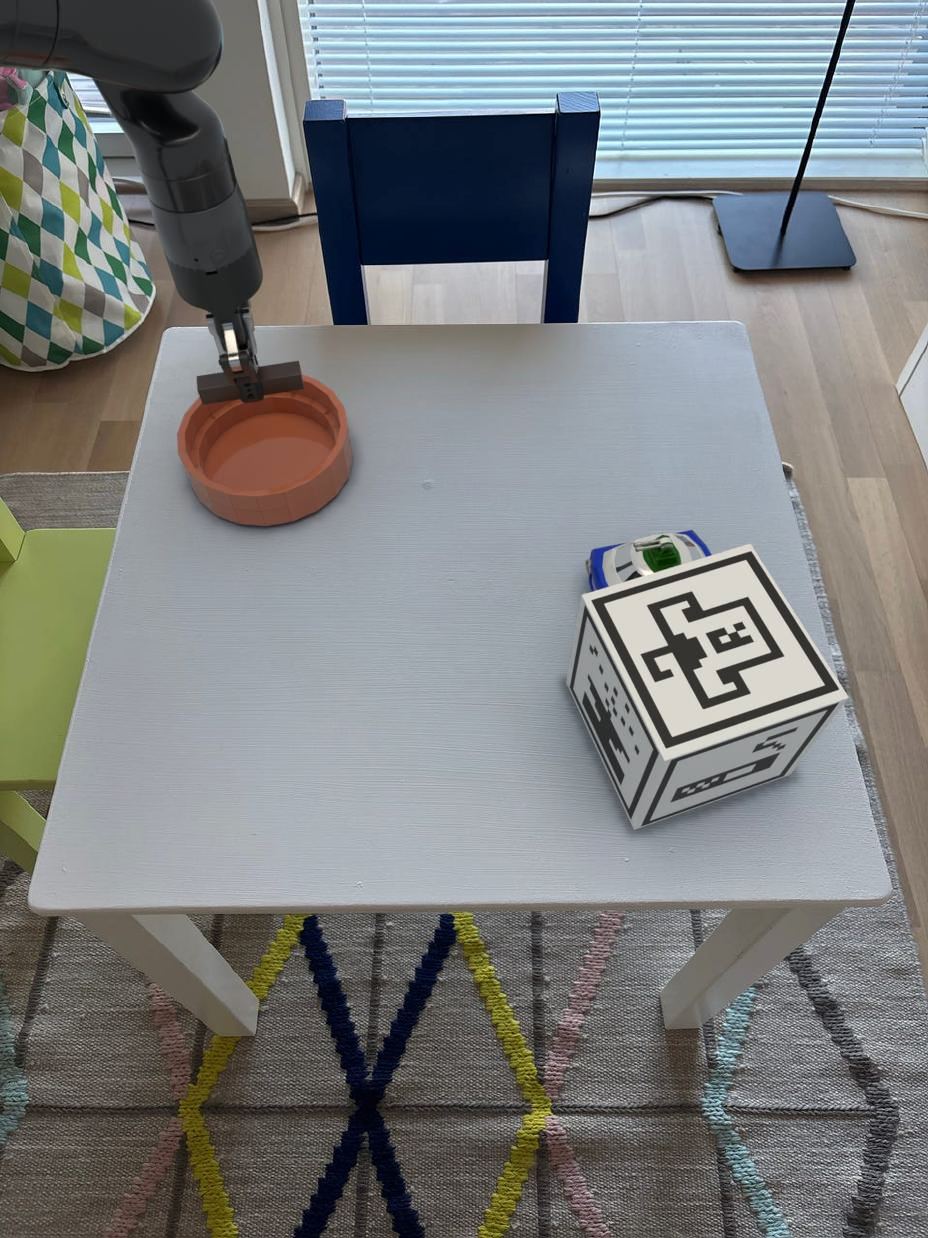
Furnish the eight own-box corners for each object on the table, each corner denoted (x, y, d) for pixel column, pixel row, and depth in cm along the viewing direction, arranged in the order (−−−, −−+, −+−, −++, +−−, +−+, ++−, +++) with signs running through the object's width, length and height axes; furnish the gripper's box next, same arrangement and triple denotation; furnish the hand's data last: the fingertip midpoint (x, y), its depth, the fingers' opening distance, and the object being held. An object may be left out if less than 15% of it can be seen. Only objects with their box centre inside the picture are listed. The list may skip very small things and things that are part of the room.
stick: (304, 389, 90) (300, 374, 89) (202, 405, 89) (197, 390, 88) (302, 375, 91) (298, 360, 90) (201, 390, 90) (196, 375, 89)
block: (790, 774, 80) (849, 697, 67) (634, 830, 78) (664, 761, 65) (710, 636, 88) (750, 543, 75) (566, 683, 85) (581, 595, 73)
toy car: (577, 571, 92) (586, 512, 84) (690, 548, 93) (710, 488, 85) (605, 649, 87) (618, 594, 79) (723, 624, 88) (748, 568, 80)
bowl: (195, 541, 95) (180, 508, 90) (188, 419, 104) (174, 383, 99) (363, 513, 96) (357, 479, 92) (342, 395, 105) (335, 359, 101)
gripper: (159, 192, 79) (210, 348, 94) (163, 297, 72) (218, 448, 86) (246, 181, 79) (283, 337, 94) (259, 283, 72) (297, 435, 87)
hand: (252, 389), depth 90 cm, fingers closed on stick, 2 cm apart
